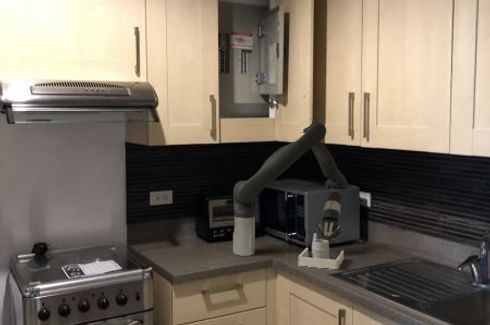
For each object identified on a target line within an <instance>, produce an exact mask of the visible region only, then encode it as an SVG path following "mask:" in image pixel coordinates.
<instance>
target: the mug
mask: <svg viewBox="0 0 490 325" xmlns="http://www.w3.org/2000/svg"><path fill="white" fill-rule="evenodd" d="M311 244H312V245H311V254H312V258H321V259H331V258H330V245H329V241H327V240H324V239H322V238H320V239H318V234H317V232H315V233H313V238H312V243H311Z"/></svg>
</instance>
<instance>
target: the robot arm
mask: <svg viewBox="0 0 490 325" xmlns="http://www.w3.org/2000/svg"><path fill="white" fill-rule="evenodd" d="M312 120H313V121H312V124H311V125H310V126H309V127H307V128H305V129H304V130H303V131H304V132H303V133H305V134H304V135H301V136H300V137H299V138H298V139H297V140H295V141H293V142H291V143H288V144H286V145H284V146H282V147H279V148H278V149H277V150H276V151H274V153H272V154H271V155H270V156H269V157H268V158H267V159H266V160H265V161H264V163H263V164H262V166H261V167H260V169H259V170H258V171H257V172H256V173H255V174H254V175H253V176H251V177H250V178H249V179H248V180H240V181H238V182H236V183H235V185H234V187H233V194H232V196H233V213H234V231H233V233H232V252H233V253H234V254H235V255H236V256H242V257H244V256H245V257H246V256H248V257H249V256H252V255H255V252H256V251H255V246H256V245H255V241H256V238H255V237H256V236H255V235H256V234H255V233H256V231H255V230H256V225H255V224H256V223H255V222H256V221H255V220H256V219H255V216H256V214H255V213H256V212H255V208H254V199H256V198H257V197H258V195H259V194H260V193H261V192H262V191H263V190H264V189H265V188H266V187H267V186H268V185H269V184H271V182H273V181H274V180H275V179H277V178H278V177H279V176H280V175H281V174H282V173H284V172H285V171H286V170H287V169H289V167H290V166H292V165H293V164H294V163H295V162H296V161H297V160H298V159H300V158H301V157H302V156H303V155H304V154H305V153H307V152H308V151H309V150H312V153H314V156H315V157H316V160H317V162H318V165H319V166H320V169H321V171H322V174H323V175H324V177H325V178H328V179H326V181H325V183H324V184H325V185H324V186H325V190H326V189H330V188H334V189H341V190H345V191H346V190H347V189H348V186H349V185H348V184H349V183H348V181H347V179H346V177H345V175H344V174H342V172H341V171H340V170H339V169H338V167H337V164H336V161H335V159H334V157H333V156H332V154H331V153H330V151H329V150H328V149H327V147H326V145H325V144H324V143H323V144H322V143H319V142H320V141H321V140H322V141H323V140H324V138H325V137H326V136H327V127H326V126H325V124H323V123H321V122H319V121H318V120H315V119H312ZM342 198H343V197H342V195H341V193H340V192H333V193H331V195H330V196H329V198H328V200H327V202H326V201H325V204H326V205H324V207H323V212H322V218H321V221H320V223H319V224H316V225H315V230H316V231H317V233H318V235H320V237H321V238H323V240H327V241H329V246H330V244H331V239H335V238H337V237H338V236H339V235H340V234H341V233H342V232H343V231H344V228H343V226H341V225H340V223H339V220H340V215H341V204H342V200H343V199H342Z"/></svg>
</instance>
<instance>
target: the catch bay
mask: <svg viewBox="0 0 490 325" xmlns="http://www.w3.org/2000/svg"><path fill="white" fill-rule="evenodd" d="M344 254H345V251H344V250H341V252H340V253H339V255H338V256H337V257H336V259H331V258H330V259H321V258H313V257H310V256H309V247H306V248H305V249H304V250H302V252H301V253H300V254H299V255H298V256H297V266H298V267H300V266H308V267H307V268H310V267H317V268H316V269H321V268H329V269H328V270H331V269H338V270H339V268H340V267H341V265H342V264H343V262H344V260H343V259H344V257H345V255H344ZM342 261H343V262H342ZM340 264H341V265H340ZM339 266H340V267H339Z"/></svg>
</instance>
